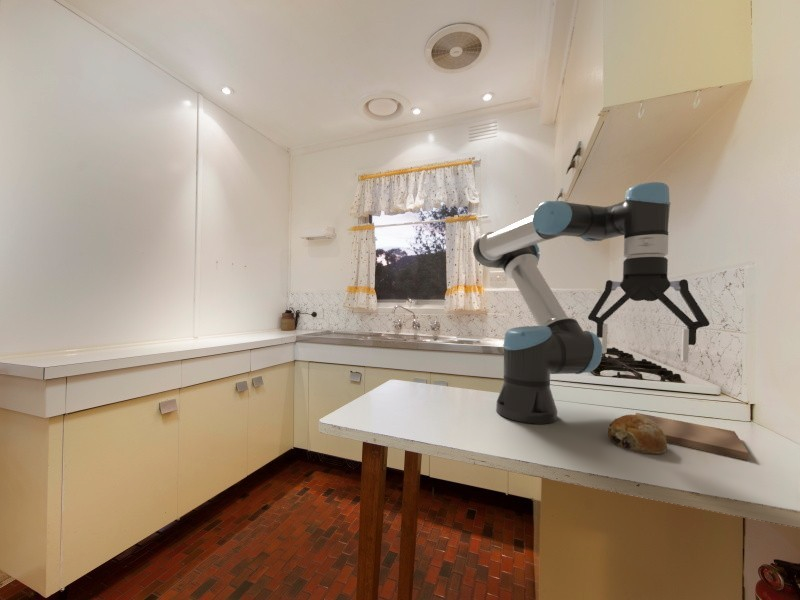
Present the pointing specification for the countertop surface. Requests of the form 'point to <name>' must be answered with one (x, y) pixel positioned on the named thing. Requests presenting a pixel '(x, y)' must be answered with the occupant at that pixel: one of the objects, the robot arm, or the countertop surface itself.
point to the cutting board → (701, 437)
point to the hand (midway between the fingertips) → (641, 356)
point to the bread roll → (638, 434)
